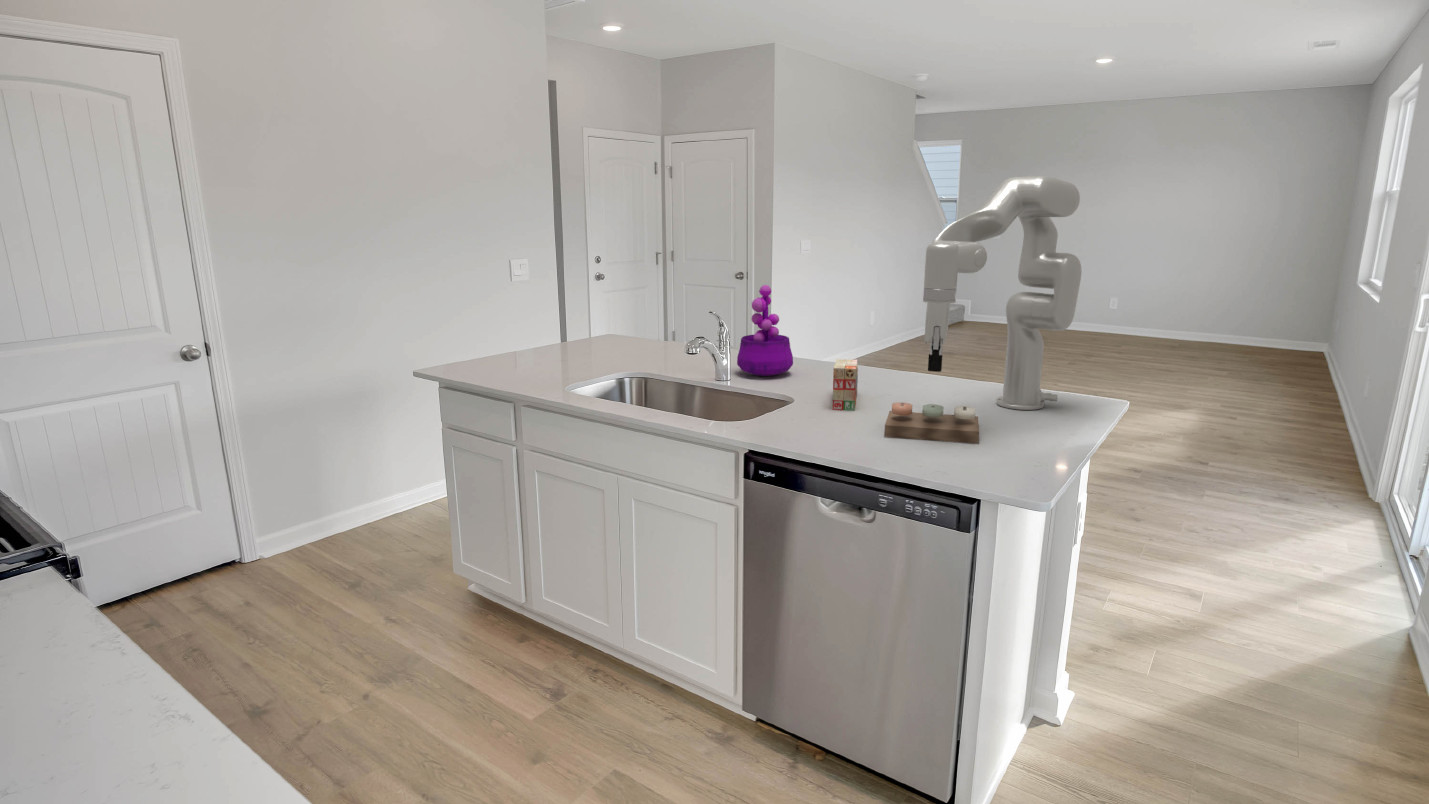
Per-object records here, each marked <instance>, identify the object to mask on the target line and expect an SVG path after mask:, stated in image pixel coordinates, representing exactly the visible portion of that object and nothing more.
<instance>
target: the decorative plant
mask: <svg viewBox="0 0 1429 804" xmlns="http://www.w3.org/2000/svg"><path fill="white" fill-rule="evenodd" d="M758 292H759V295H761V297H756V298H754V299H753V300H752V302H751V308H752V310H753V311H754V312H756V313H753V314H752V315H751V322H752V323H753V324H754V325H757V327H758V328H759V330H757V331H756V332H755V333H754V334H748V335H744V336H742V337H741V338H740V345H739V349H738V354H737V360H736V365H737V366H738V367H739V369H740V370H741V371H742V372H745V373H747V374H750V375H753V376H759V377H760V376H761V377H770V376H771V377H772V376H778V375H780V374H783V373H786V372H788V371H789V370H790V369H791V368H792V367H793V365H794V355H793V352H792V349H791V343H790V338H789V336H787V335H782V334H780V330H779V328H778V327H776V325H778V324H779V321H780V316H779V315H778V314H776V313H770V314H769V305H770V304H771V303H772V299H771V297H770V295H771V294H772V290H771V287H770V285H767V284H764V285H762V286H760V288H759V290H758Z"/></svg>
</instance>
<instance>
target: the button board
mask: <svg viewBox="0 0 1429 804" xmlns="http://www.w3.org/2000/svg"><path fill="white" fill-rule="evenodd" d="M883 436H884V438H894V439H907V440H908V439H909V440H910V439H911V440H922V441H934V442H936V441H937V442H952V443H963V444H964V443H965V444H975V443H978V444H979V442H980V423H979V416H976V415H975V418H974V419H959V418H956V417H954V414H944V413H943V416H941V417H927V416H924V415H922V412H914V411H912V414H910V415H896V414H893V413H892V410H889V412H888V415H887V418H886V421H885V423H884V435H883Z"/></svg>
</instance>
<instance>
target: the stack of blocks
mask: <svg viewBox="0 0 1429 804" xmlns="http://www.w3.org/2000/svg"><path fill="white" fill-rule="evenodd" d="M858 371H859V365H858V359H850V358H849V359H842V358H841V359H840V358H836V359H835V363H834V366H833V377H832V378H833V379H832V380H833V381H832V405H831V406H832V407H831V408H832V411H845V412H847V411H848V412H851V411H852V412H855V410H856V406H857V398H858V397H857V396H858V383H859V382H858V380H859V379H858V377H859V376H858V375H859V374H858Z"/></svg>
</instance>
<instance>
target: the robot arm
mask: <svg viewBox="0 0 1429 804" xmlns="http://www.w3.org/2000/svg"><path fill="white" fill-rule="evenodd" d="M1080 201H1081V197H1080V192H1079V189H1078V188H1077V186H1076V185H1075V184H1073V183H1072V182H1070V181H1066V180H1063V179H1062V180H1061V179H1058V178H1055V177H1051V176H1047V175H1026V176H1013V177H1008V178H1006V179H1004V180H1003V181H1002V182H1001V183H1000V184H999V185H998V186H997V187H996V189H994V190H993V192H992V194H991V195H990V196H989V197H988V198H987V199H986V200H985V201H984V202H983V204H982V205H981V206H980V207H979V208H978V209H977V210H975V211H974V212H971V213H969V214H966V216H964V217H961V218H960V219H957V220H955V221H953V222H952V223H950V224H949V225H947V226H946V227H945V228H943V230H941V231H940V233H939V234H938V235H937V236H936V237H935V238H934V240H932V242H931V243H930V244H928V245H927V247H926V249H925V250H926V251H925V265H924V281H923V296H922V302H924V303H926V312H925V324H924V339H923V341H924V344H928V343H929V345H930V346H929V354H928V362H927V371H928V372H933V373H934V372H937V373H941V372H942V368H943V367H942V366H943V354H942V352H943V345H945V344H946V340H947V335H948V331H949V330H948V328H949V324H950V323H949V321H950V311H951V309H950V308H951V304H955V303H956V299H957V298H956V297H957V286H958V285H957V283H958V274H960V273H961V274H974V273H977V272H980V271H981V270H982V269H983V268H984V267H985V265H986V263H987V260H988V253H987V250H986V248H985V246H984V245H982V244H981V243H979V242H981V241H986V240H989V239H990V240H991V239H993V238H996V237H998V236H1000V235H1002V234H1004V233H1005V232H1006V231H1007V230H1008V228H1009V227H1010V226H1011V225H1012V223H1013V222H1015V220H1016V219H1017V218H1019V222H1020V223H1021V227H1022V231H1023V239H1022V246H1021V247H1022V248H1021V251H1020V252H1021V253H1020V259H1019V265H1018V271H1017V273H1018V276H1017V277H1018V282H1019V284H1022V285H1023V286H1025V287H1029V288H1038V289H1050V290H1053V293H1043V292H1036V291H1035V292H1032V291H1022V292H1021V291H1020V292H1017V293H1015V294H1013V295H1011V296H1010V297H1009V299H1008V300H1007V301H1006V302H1007V303H1006V307H1005V316H1006V324H1007V338H1006V339H1007V340H1006V341H1007V343H1006V353H1005V366H1004V377H1003V387H1002V388H1003V389H1002V395H1001V396H999V397H997V398H996V404H997V405H998V406H999V407H1003V408H1006V409H1012V410H1021V411H1036V410H1040V409H1043V408H1044V407H1045V401H1050V402H1057V401H1058V393H1057V394H1055V393H1054V394H1053V393H1051V392H1043V391H1042V389H1041V378H1042V369H1043V368H1042V367H1043V359H1044V358H1043V356H1044V350H1045V349H1044V348H1045V344H1044V339H1043V336H1042V334H1041V332H1040V330H1047V331H1048V330H1049V331H1055V332H1056V331H1059V332H1061V331H1065V330H1067V329H1068V328H1069V327H1070V326H1071V324H1072V323H1073V320H1074V317H1075V313H1076V307H1077V302H1078V297H1079V290H1080V286H1081V279H1082V264H1081V261H1080V259H1079V257H1078V256H1076V255H1075V254H1073V253H1068V252H1057V245H1058V237H1059V235H1058V230H1057V227H1056V225H1055V222H1053V220H1052V218H1067V217H1070V216H1071V215H1073V214H1074V213H1075V212H1076V211H1077V209H1078V207H1079V205H1080ZM1039 329H1040V330H1039Z"/></svg>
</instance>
